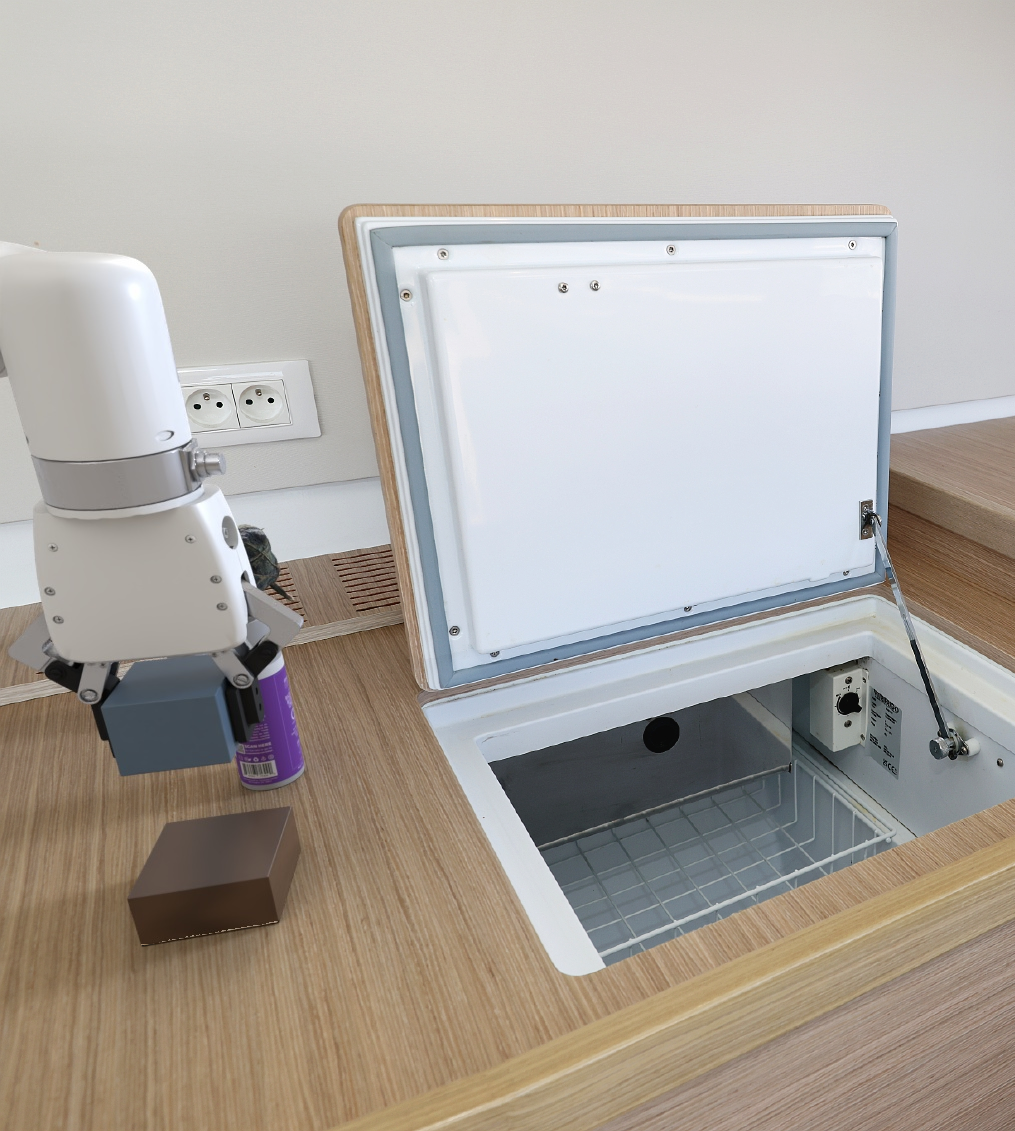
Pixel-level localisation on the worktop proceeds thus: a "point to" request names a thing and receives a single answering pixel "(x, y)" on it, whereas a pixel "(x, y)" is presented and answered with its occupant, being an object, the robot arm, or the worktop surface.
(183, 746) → the top block
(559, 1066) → the worktop surface
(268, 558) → the plant with pod
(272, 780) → the container
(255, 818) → the base block
